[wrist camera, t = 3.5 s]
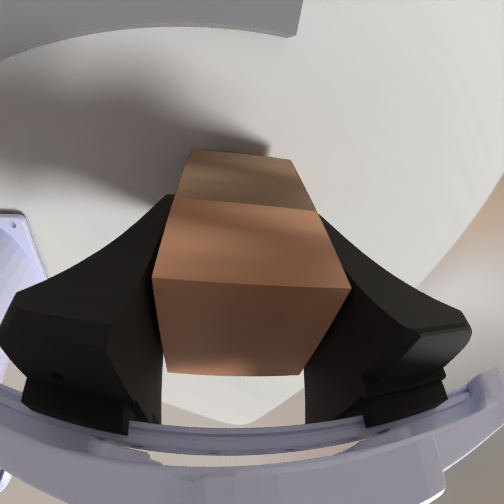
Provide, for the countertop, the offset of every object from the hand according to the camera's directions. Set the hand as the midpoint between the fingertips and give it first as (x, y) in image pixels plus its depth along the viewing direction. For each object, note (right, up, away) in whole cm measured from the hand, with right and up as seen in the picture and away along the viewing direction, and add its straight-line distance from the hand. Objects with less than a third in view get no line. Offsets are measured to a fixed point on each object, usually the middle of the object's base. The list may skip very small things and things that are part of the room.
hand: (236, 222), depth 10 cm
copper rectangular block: (0, +1, +1) cm, 2 cm away
